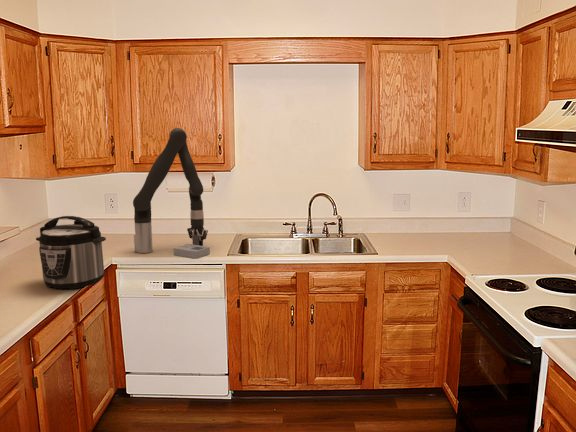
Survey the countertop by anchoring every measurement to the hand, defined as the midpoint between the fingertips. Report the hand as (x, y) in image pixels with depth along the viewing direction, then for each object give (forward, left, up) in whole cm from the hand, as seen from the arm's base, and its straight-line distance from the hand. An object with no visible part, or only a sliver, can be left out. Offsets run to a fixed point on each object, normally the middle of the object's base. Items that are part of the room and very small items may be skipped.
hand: (197, 246), depth 329 cm
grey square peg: (0, 0, -1) cm, 1 cm away
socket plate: (+6, -13, -1) cm, 14 cm away
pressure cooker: (-10, -80, -2) cm, 81 cm away
